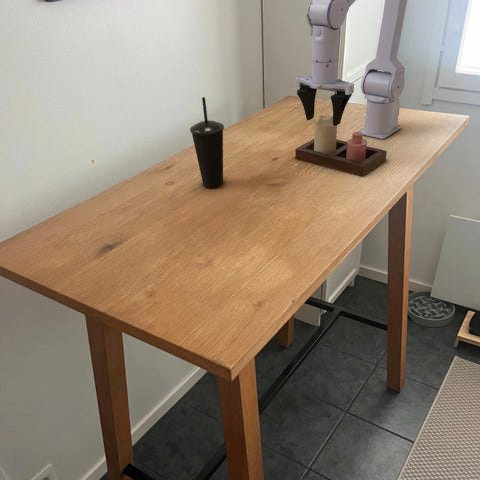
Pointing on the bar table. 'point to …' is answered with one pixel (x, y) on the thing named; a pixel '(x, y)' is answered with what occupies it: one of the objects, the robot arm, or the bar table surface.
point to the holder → (341, 158)
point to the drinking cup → (209, 150)
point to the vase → (356, 147)
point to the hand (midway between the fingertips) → (323, 121)
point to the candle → (325, 135)
